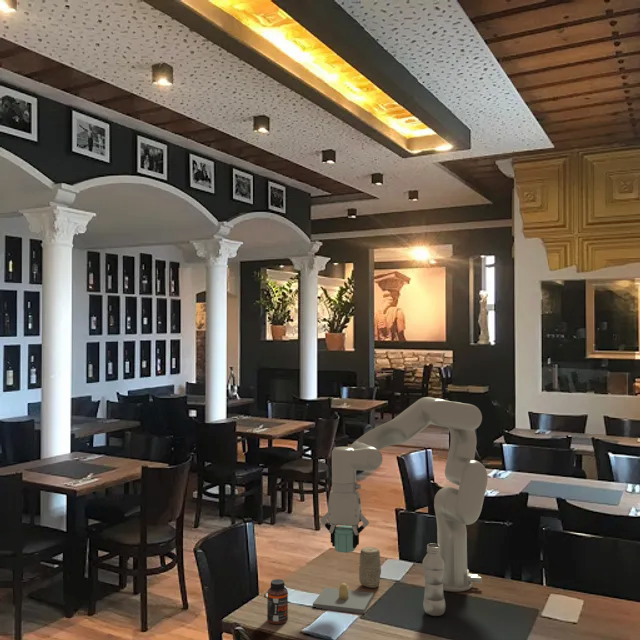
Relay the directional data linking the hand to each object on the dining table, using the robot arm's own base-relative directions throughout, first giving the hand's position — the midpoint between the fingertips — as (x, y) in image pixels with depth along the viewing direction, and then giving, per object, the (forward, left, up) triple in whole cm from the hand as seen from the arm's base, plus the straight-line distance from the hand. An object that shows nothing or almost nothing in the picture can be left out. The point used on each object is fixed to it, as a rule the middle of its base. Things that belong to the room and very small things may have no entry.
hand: (344, 545), depth 197 cm
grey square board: (+1, -1, -18) cm, 18 cm away
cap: (0, 0, -1) cm, 1 cm away
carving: (-4, -16, -18) cm, 24 cm away
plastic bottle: (-27, 0, -18) cm, 33 cm away
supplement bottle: (+16, +17, -18) cm, 29 cm away
